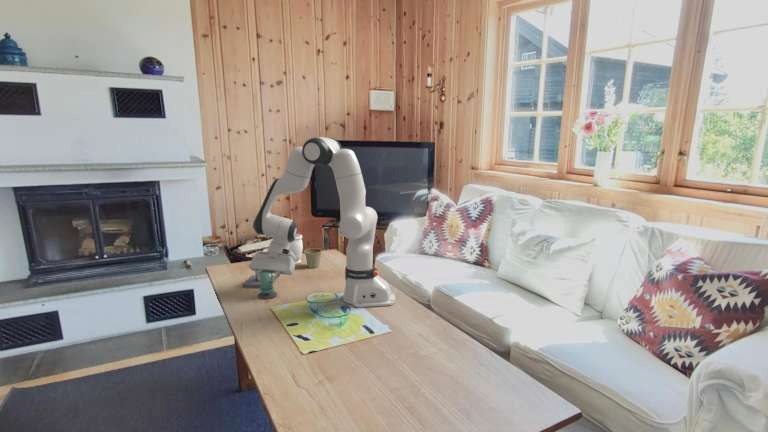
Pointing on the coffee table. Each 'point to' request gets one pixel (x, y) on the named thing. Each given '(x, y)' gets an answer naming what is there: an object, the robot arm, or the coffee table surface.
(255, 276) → the grey rounded piece
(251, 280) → the post slab
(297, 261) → the jar
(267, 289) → the cap
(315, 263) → the flower pot
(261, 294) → the pad
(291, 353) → the coffee table surface
